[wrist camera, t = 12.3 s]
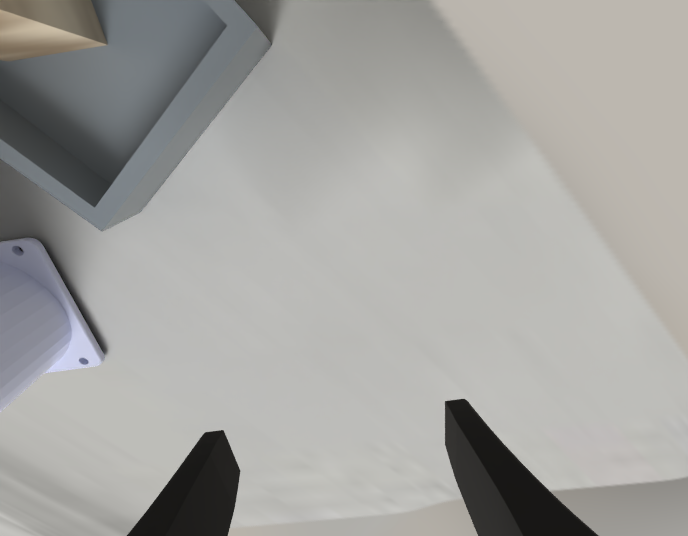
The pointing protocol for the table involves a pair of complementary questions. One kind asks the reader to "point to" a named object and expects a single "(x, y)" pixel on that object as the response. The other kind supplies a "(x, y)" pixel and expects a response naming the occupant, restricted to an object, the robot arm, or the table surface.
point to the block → (47, 28)
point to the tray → (124, 101)
